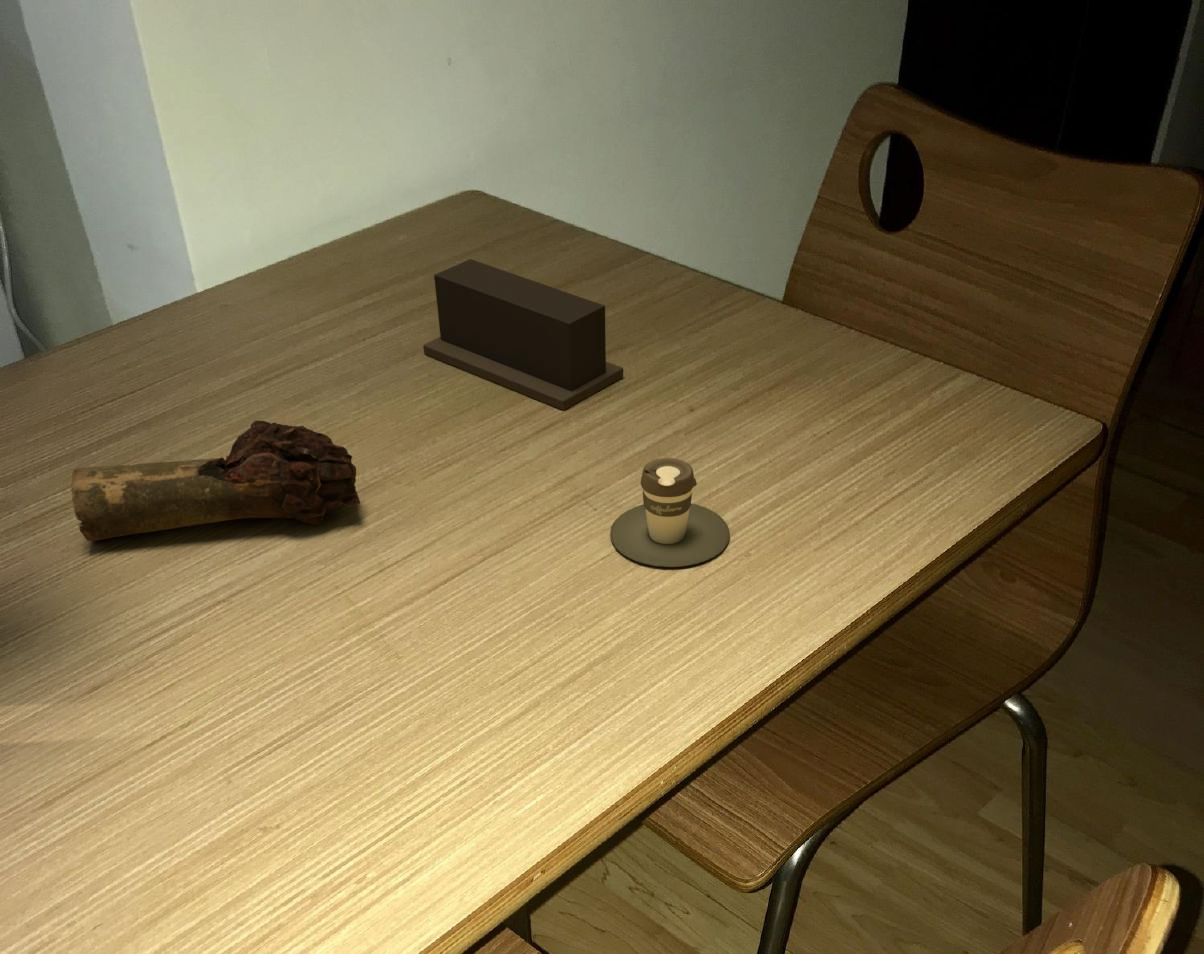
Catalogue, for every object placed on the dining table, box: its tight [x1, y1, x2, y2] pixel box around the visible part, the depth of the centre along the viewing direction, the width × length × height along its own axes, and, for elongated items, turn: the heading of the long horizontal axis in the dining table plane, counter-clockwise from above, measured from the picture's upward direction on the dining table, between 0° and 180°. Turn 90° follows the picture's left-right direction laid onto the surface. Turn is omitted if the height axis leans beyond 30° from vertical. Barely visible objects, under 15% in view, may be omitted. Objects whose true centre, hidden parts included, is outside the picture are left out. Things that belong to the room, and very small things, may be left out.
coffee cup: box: [609, 457, 731, 569], centre depth 82 cm, size 12×12×5 cm
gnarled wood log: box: [70, 420, 361, 542], centre depth 84 cm, size 18×7×6 cm, turn 97°
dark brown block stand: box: [422, 258, 624, 411], centre depth 99 cm, size 15×7×6 cm, turn 49°
